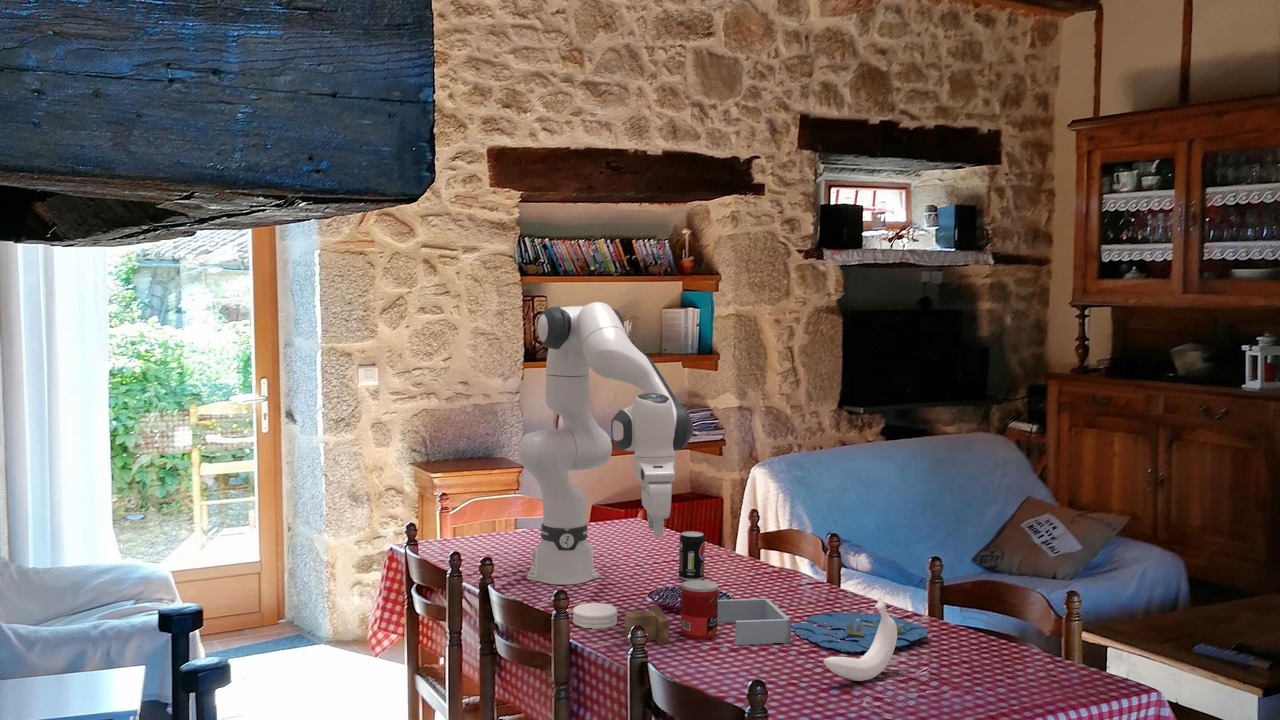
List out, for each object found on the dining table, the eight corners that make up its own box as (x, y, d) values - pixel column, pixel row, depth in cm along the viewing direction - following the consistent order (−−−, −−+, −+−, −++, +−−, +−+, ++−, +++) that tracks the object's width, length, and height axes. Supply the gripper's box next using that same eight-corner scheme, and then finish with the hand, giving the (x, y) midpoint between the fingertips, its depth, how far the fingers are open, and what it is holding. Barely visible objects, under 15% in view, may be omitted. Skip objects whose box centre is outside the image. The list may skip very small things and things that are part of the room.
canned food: (714, 641, 229) (716, 590, 228) (677, 638, 231) (678, 587, 230) (719, 630, 236) (720, 581, 236) (683, 627, 238) (684, 578, 237)
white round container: (572, 617, 245) (572, 602, 245) (615, 617, 246) (616, 602, 246) (573, 630, 235) (573, 614, 235) (618, 630, 236) (619, 614, 236)
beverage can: (695, 583, 276) (696, 537, 275) (673, 579, 279) (674, 534, 279) (708, 578, 281) (709, 533, 281) (687, 574, 285) (688, 529, 284)
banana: (821, 686, 203) (823, 609, 202) (881, 665, 216) (883, 593, 215) (842, 693, 199) (844, 615, 199) (901, 671, 212) (904, 598, 211)
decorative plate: (775, 652, 227) (775, 628, 227) (807, 614, 255) (807, 592, 255) (919, 666, 217) (918, 641, 216) (935, 624, 244) (935, 602, 244)
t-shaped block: (631, 645, 225) (631, 622, 224) (621, 628, 237) (622, 606, 236) (668, 644, 226) (669, 621, 226) (657, 627, 238) (657, 605, 238)
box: (716, 621, 243) (716, 599, 243) (767, 620, 245) (767, 598, 245) (736, 645, 226) (736, 622, 226) (790, 643, 228) (791, 620, 228)
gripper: (634, 464, 241) (635, 526, 241) (645, 475, 221) (646, 542, 221) (662, 463, 242) (663, 525, 242) (676, 474, 221) (677, 541, 221)
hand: (655, 533), depth 231 cm, fingers open, 8 cm apart
